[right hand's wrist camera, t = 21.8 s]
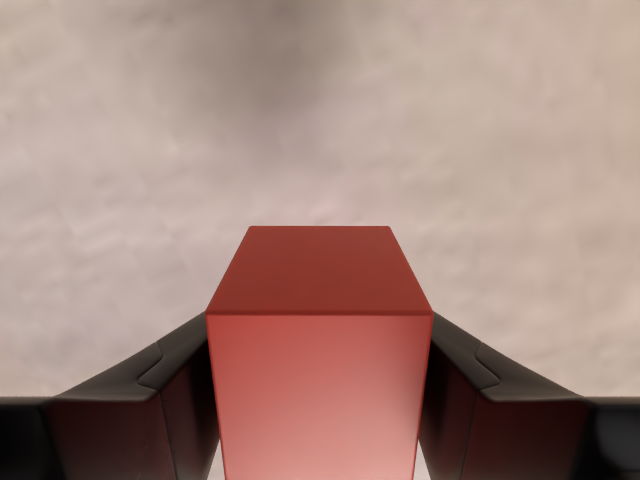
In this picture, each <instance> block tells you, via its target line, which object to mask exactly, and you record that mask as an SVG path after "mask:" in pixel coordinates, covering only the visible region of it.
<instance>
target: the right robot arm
mask: <svg viewBox="0 0 640 480" xmlns="http://www.w3.org/2000/svg"><path fill="white" fill-rule="evenodd" d="M433 313H434V317H433V325H432V333H431V341H430V349H429V357H428V365H427V373H426V381H425V389H424V397H423V404H422V412H421V420H420V428H419V436H418V439H419V442H420V446H421V449H422V452H423V455H424V459H425V462H426V465H427V468H428V472H429V475H430V478H431V480H640V397H584V396H581V395H578V394H576V393H574V392H572V391H570V390H568V389H566V388H564V387H562V386H560V385H558V384H556V383H554V382H553V381H551V380H549V379H547V378H545V377H543V376H541V375H539V374H537V373H536V372H534V371H532V370H530V369H528V368H526V367H524V366H522V365H521V364H519V363H517V362H515V361H513V360H511V359H510V358H508V357H506V356H505V355H503V354H501V353H500V352H498V351H496V350H495V349H493V348H491V347H490V346H488V345H487V344H485V343H483V342H481V341H480V340H479V339H477V338H475V337H474V336H472V335H471V334H469V333H467V332H466V331H464V330H463V329H461V328H459V327H458V326H456V325H455V324H453V323H452V322H450V321H448V320H447V319H445V318H444V317H442V316H440V315H439V314H437V313H436V312H434V311H433ZM219 439H220V434H219V426H218V418H217V410H216V402H215V394H214V386H213V378H212V370H211V361H210V353H209V345H208V337H207V329H206V321H205V311H204V312H202V313H201V314H199V315H198V316H196V317H194V318H193V319H191V320H190V321H188V322H186V323H185V324H183V325H182V326H180V327H178V328H177V329H175V330H174V331H172V332H170V333H169V334H167V335H166V336H164V337H162V338H161V339H159V340H158V341H157V342H154V343H153V344H151V345H150V346H148V347H146V348H145V349H143V350H141V351H140V352H138V353H136V354H135V355H133V356H131V357H130V358H128V359H126V360H124V361H122V362H120V363H119V364H117V365H115V366H113V367H111V368H109V369H107V370H106V371H104V372H102V373H100V374H98V375H96V376H94V377H92V378H90V379H88V380H86V381H85V382H83V383H81V384H79V385H77V386H75V387H73V388H71V389H69V390H67V391H65V392H63V393H61V394H59V395H56V396H53V397H0V480H207V478H208V474H209V471H210V468H211V465H212V462H213V458H214V455H215V452H216V449H217V445H218V442H219Z"/></svg>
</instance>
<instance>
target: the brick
mask: <svg viewBox="0 0 640 480" xmlns="http://www.w3.org/2000/svg"><path fill="white" fill-rule="evenodd" d="M433 317H434V313H433V310H432V308H431V306H430V304H429V302H428V301H427V299H426V297H425V295H424V293H423V291H422V289H421V287H420V285H419V283H418V281H417V279H416V277H415V275H414V273H413V271H412V269H411V267H410V265H409V263H408V262H407V260H406V258H405V256H404V254H403V252H402V250H401V248H400V246H399V244H398V242H397V240H396V238H395V236H394V234H393V232H392V230H391V228H390V227H389V226H250V227H249V229H248V230H247V232H246V234H245V236H244V238H243V240H242V242H241V244H240V246H239V248H238V250H237V252H236V253H235V255H234V257H233V259H232V261H231V263H230V265H229V267H228V269H227V271H226V273H225V274H224V276H223V278H222V280H221V282H220V284H219V286H218V288H217V290H216V292H215V294H214V295H213V297H212V299H211V301H210V303H209V305H208V307H207V309H206V311H205V321H206V329H207V337H208V345H209V353H210V361H211V370H212V378H213V386H214V394H215V402H216V410H217V418H218V426H219V434H220V442H221V450H222V458H223V466H224V474H225V480H413V476H414V468H415V460H416V452H417V444H418V436H419V428H420V420H421V412H422V404H423V397H424V389H425V381H426V373H427V365H428V357H429V349H430V341H431V333H432V325H433Z"/></svg>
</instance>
